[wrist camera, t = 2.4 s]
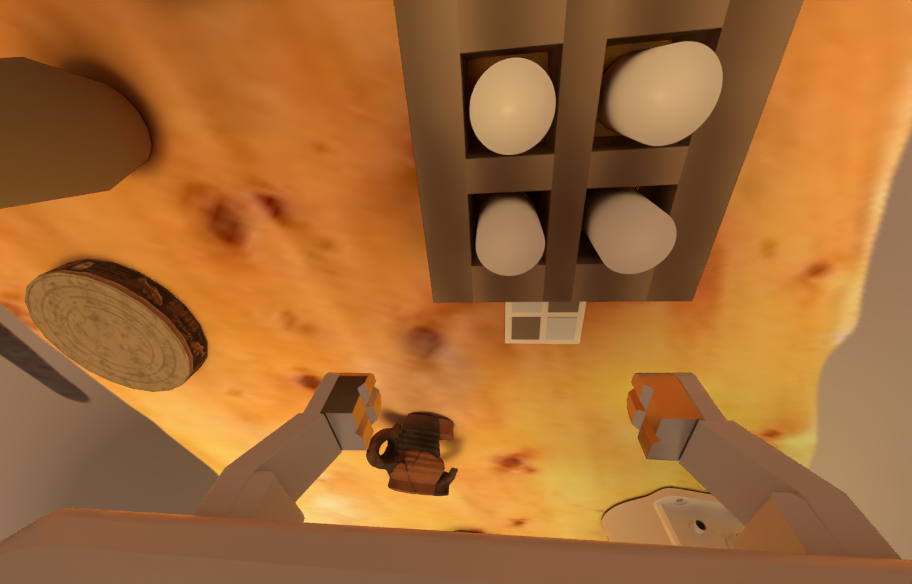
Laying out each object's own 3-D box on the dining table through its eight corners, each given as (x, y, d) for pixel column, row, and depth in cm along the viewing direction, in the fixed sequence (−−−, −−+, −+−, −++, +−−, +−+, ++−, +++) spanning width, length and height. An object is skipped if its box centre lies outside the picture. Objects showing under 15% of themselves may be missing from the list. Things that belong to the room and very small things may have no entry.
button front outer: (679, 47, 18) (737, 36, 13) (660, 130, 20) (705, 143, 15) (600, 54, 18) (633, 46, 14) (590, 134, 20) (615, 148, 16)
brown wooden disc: (232, 375, 40) (215, 394, 38) (117, 370, 42) (93, 388, 39) (164, 257, 32) (135, 272, 29) (23, 257, 33) (-16, 272, 31)
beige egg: (544, 59, 18) (559, 53, 14) (540, 138, 20) (551, 152, 16) (473, 66, 19) (467, 62, 15) (476, 142, 21) (471, 157, 17)
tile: (588, 278, 28) (590, 281, 28) (578, 341, 32) (579, 344, 31) (505, 279, 29) (505, 282, 28) (505, 340, 32) (505, 344, 32)
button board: (749, -39, 17) (832, -78, 13) (661, 266, 27) (692, 301, 23) (413, 1, 19) (390, -21, 15) (442, 270, 29) (433, 302, 25)
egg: (537, 186, 22) (547, 211, 18) (534, 242, 24) (542, 275, 20) (477, 189, 23) (474, 214, 18) (479, 243, 25) (477, 276, 21)
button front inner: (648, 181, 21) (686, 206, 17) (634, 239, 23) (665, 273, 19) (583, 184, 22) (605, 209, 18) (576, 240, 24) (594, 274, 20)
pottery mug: (477, 422, 41) (470, 500, 37) (441, 423, 48) (432, 488, 45) (386, 405, 36) (368, 493, 32) (361, 409, 43) (344, 481, 40)
